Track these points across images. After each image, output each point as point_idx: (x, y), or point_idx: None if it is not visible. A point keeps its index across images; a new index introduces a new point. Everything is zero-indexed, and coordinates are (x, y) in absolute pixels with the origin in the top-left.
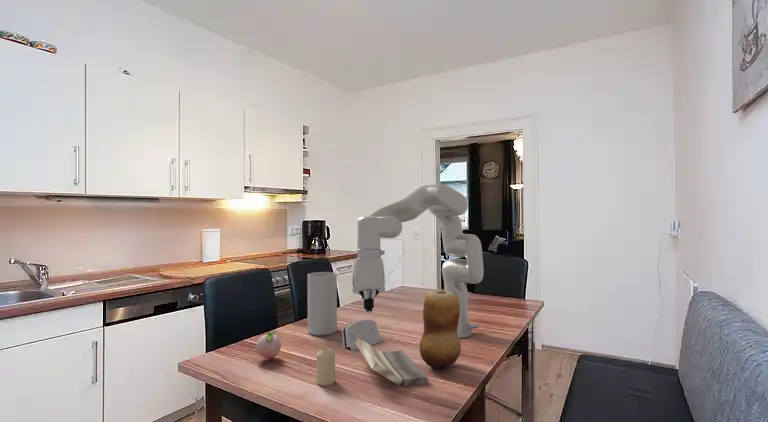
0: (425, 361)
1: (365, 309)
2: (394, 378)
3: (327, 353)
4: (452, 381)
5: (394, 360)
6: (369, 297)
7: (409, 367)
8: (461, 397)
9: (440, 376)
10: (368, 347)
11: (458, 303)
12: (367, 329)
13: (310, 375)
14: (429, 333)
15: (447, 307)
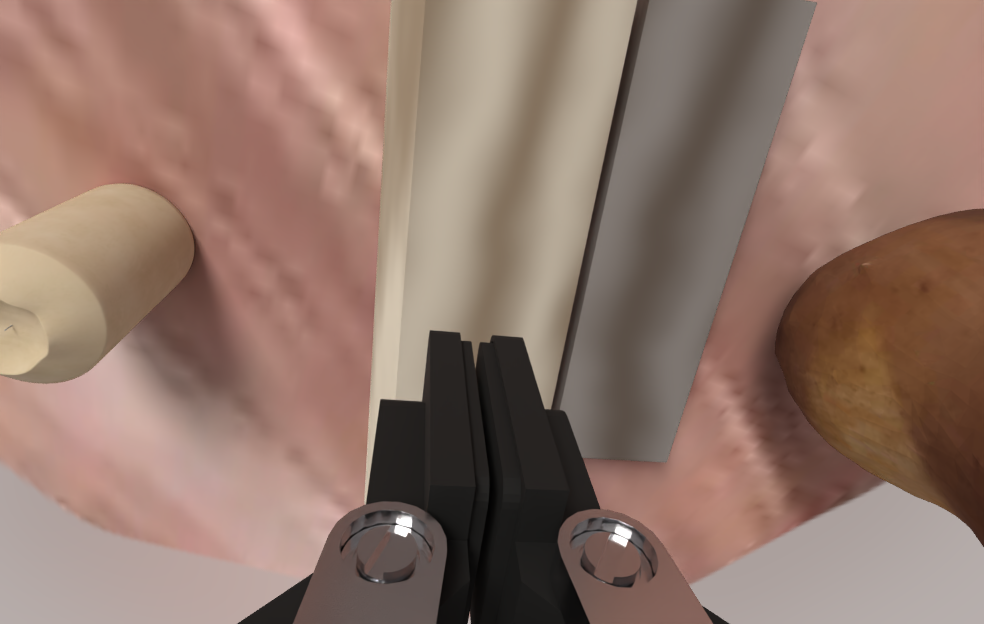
0: (776, 340)
1: (429, 340)
2: None
3: (29, 377)
4: (771, 455)
5: (641, 192)
6: (508, 604)
7: (659, 333)
8: (694, 568)
9: (765, 395)
10: (469, 147)
11: None
12: None
13: (15, 88)
14: (927, 465)
15: None
